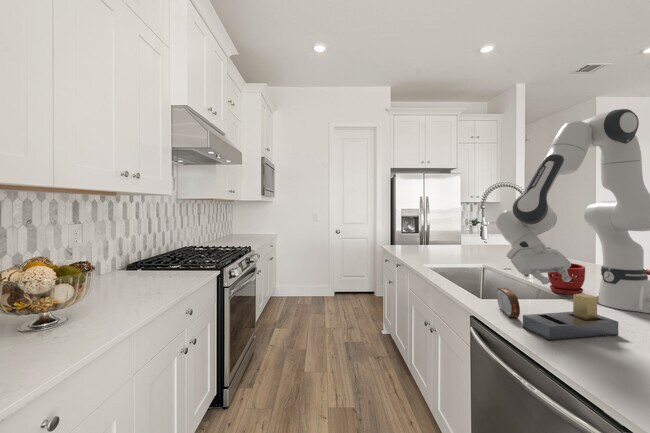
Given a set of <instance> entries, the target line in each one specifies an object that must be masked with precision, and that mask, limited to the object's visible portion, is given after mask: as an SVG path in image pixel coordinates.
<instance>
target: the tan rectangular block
mask: <svg viewBox="0 0 650 433" xmlns="http://www.w3.org/2000/svg"><path fill="white" fill-rule="evenodd" d="M572 297H573V300H572V304H573V306H572V307H573V308H572V310H573V311H572V312H573V317H575V318H578V319H580V320H583V321H597V315H598V302H597V300H598V299H597V296H595V295H592V294H587V293H583V292H582V293H580V294H574V295H573V296H572Z"/></svg>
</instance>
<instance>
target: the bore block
mask: <svg viewBox="0 0 650 433" xmlns="http://www.w3.org/2000/svg"><path fill="white" fill-rule="evenodd" d="M522 329H525V330H527V331H528V332H531V333H533V334H534V335H537V336H539V337H541V338H543V339H545V340H547V341H548V342H554V341H555V342H556V341H564V340H577V339H578V340H579V339H590V338H591V339H592V338H603V337H605V338H606V337H616V336H619V321H617V320H616V319H615V320H614V319H611V318H608V317H605V316H603V315H600V314H597V321H583V320H580V319H578V318H575V317H573V311H563V312H562V311H559V312H547V313H532V314H522Z"/></svg>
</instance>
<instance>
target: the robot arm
mask: <svg viewBox="0 0 650 433" xmlns="http://www.w3.org/2000/svg"><path fill="white" fill-rule="evenodd" d="M639 123H640V122H639V117H638V115H637V114H636V113H635V112H634V111H632V110H631V109H628V108H621V109H613V110H611V111H608V112H603V113H598V114H596V115H593V116H591V117H588V118H586V119H583V120H580V121H578V120H573V121H569V122H567V123H565V124H564V125H562V127H560V129H559V130H558V132H557V133H556V135H555V137H554V138H553V140H552V141H551V144H550V146H549V149H548V150H547V152H546V155H545V157H544V158H543V160H542V161H541V163H540V164H539V165H538V167H537V169H536V170H535V172H534V174H533V176H532V178H531V180H530V182H529V183H528V186H527V187H526V188H525V190H524V191H523V192H522V193H521V194H520V195H519V196H518V197H517V198H516V199H515V201H514V202H513V203H512V204H513V205H512V209H506V210H504V211H503V212H502V213H500V214H499V215H498V217H497V218H496V221H495V225H496V227H497V229H498V231H499V232H500V234H501V235H502V237H503V238H504V240H506V242H508V243H509V244H510V245H511V248H510V250H509V251H508V252H507V253H506V257H507V258H508V260H510V263H512V265H513V267H514V268H515V269H516V270H517V271H518V272H519V274H522V275H524V276H526V275H532V277H534V278H535V279H536V280H538V281H540V283H541V284H542V285H548V284H549V283H550V280H549V278H548V276H544V275H543V274H548V272H559V274H561V275H562V280H564V282H569V281H571V277H570V276H569V275H568V271H567V269H568V268H569V267H570V266H571V263H572V262H571V261H570V260H569V259H568V258H567V257H566V256H565V255H563V254H562V252H560V251H559V250H558V249H555V248H551V247H550V246H546V244H545V243H544V242H543V241H542V239H540V238H539V235H541V234H543V233H546V232H548V231H550V230H551V229H553V227H555V225H556V224H557V220H558V219H557V218H558V217H557V214H556V212H554V210H553V208H552V207H550V205H549V203H548V194H549V193H550V191H551V189H552V187H553V185H554V183H555V181H556V180H557V178H558V177H559V176H567V175H570V174H573V173H575V172H577V171H578V169H579V168H580V166H581V165H582V164H583V162H584V160H585V158H586V156H587V152H588V151H589V148H594V147H599V149H600V151H601V153H600V181H601V186H602V187H603V188H604V189H606V190H608V191H610V192H611V193H612V194H613V195H614V198H615V200H606V201H605V200H604V201H599V202H595V203H594V202H593V203H591V204H588V206H587V207H586V208H585V209H584V212H583V219H584V220H585V223H586V224H587V225H588V226H590V227H591V229H593V230H594V231H595V233H596V235H597V237H598V239H599V241H600V244H601V250H602V251H601V253H602V265H601V268H600V271H601V272H600V273H601V274H600V275H601V276H602V278H601V279H600V282H599V288H598V295H597V296H596V297H597V304H600V305H602V306H605V307H609V308H612V309H618V310H623V311H630V312H631V311H632V312H639V313H646V314H650V279H649V276H650V269H644V268H645V266H644V264H645V263H644V259H645V258H644V256H645V255H644V253H645V252H644V251H645V250H644V248H643V246H642V245H641V244H639V243H638V242H636V241H635V240H633V238H632V237H631V235H630V233H629V231H630V232H650V192H649V191H648V189H647V188H646V185H645V181H644V176H643V164H642V163H643V162H642V151H641V146H640V143H639V140H638V137H637V136H636V134H637V132H638V130H639ZM550 284H551V283H550Z"/></svg>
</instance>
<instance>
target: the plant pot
mask: <svg viewBox="0 0 650 433" xmlns="http://www.w3.org/2000/svg"><path fill="white" fill-rule="evenodd" d="M567 271H568V275H569V276H570V277H571V281H569V282H564V280H562V275H561V274H559V272H548V273H547V278H548V279H549V280H550V285H549V289H550V290H551V291H552V292H555V293H558V294H562V295H570V296H571V295H574V294H582V293H583V292H584V289H583V285H584V283H585V280H586V279H585V278H586V266H584V265H582V264H579V263H572V262H571V266H570V267H569V268H568V269H567Z"/></svg>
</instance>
